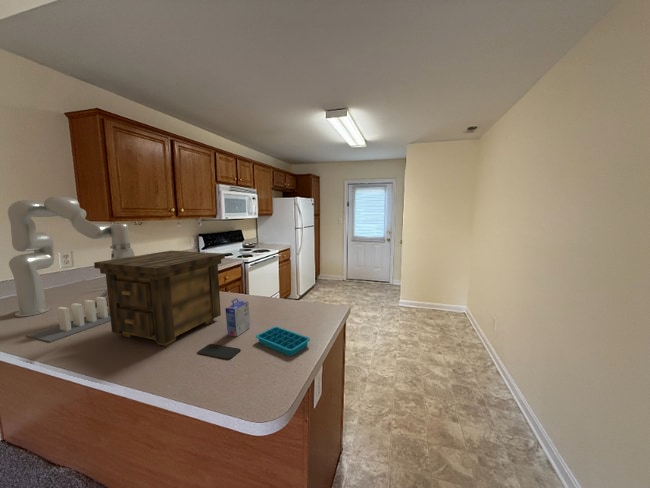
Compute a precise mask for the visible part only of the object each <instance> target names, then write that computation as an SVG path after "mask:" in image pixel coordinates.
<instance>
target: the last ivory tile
mask: <svg viewBox="0 0 650 488" xmlns="http://www.w3.org/2000/svg"><path fill="white" fill-rule="evenodd" d="M57 317H58V322H59V323H58V325H60V329H61V330H65V331H68V330H71V322H70V321H71V314H70V309H69V307H65V306H59V307H57Z"/></svg>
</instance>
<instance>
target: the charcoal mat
mask: <svg viewBox="0 0 650 488" xmlns="http://www.w3.org/2000/svg"><path fill="white" fill-rule="evenodd" d="M96 317H97V321H95V322H90V321H86V316H84V323H85V325H83V326H77V325H74V323H73V320H70V322H71V330H68V331H65V330H61V329H60V325H59V324H57V325H55V326H51V327H48V328H46V329H42V330H39V331H35V332H32V333H29V334H27V335H26V337H28V338H32V339H36V340H39V341H44V342H47V343H52V342H56V341H59V340H61V339H65V338H67V337H71V336H72V335H77V334H78V333H82V332H83V331H86V330H89V329H92V328H95V327H97V326H98V327H99V326H101V325H104V324H106V323H109V322H111V318H110V313H109V311H108V317H106V318H102V317H98V312H96Z"/></svg>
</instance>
